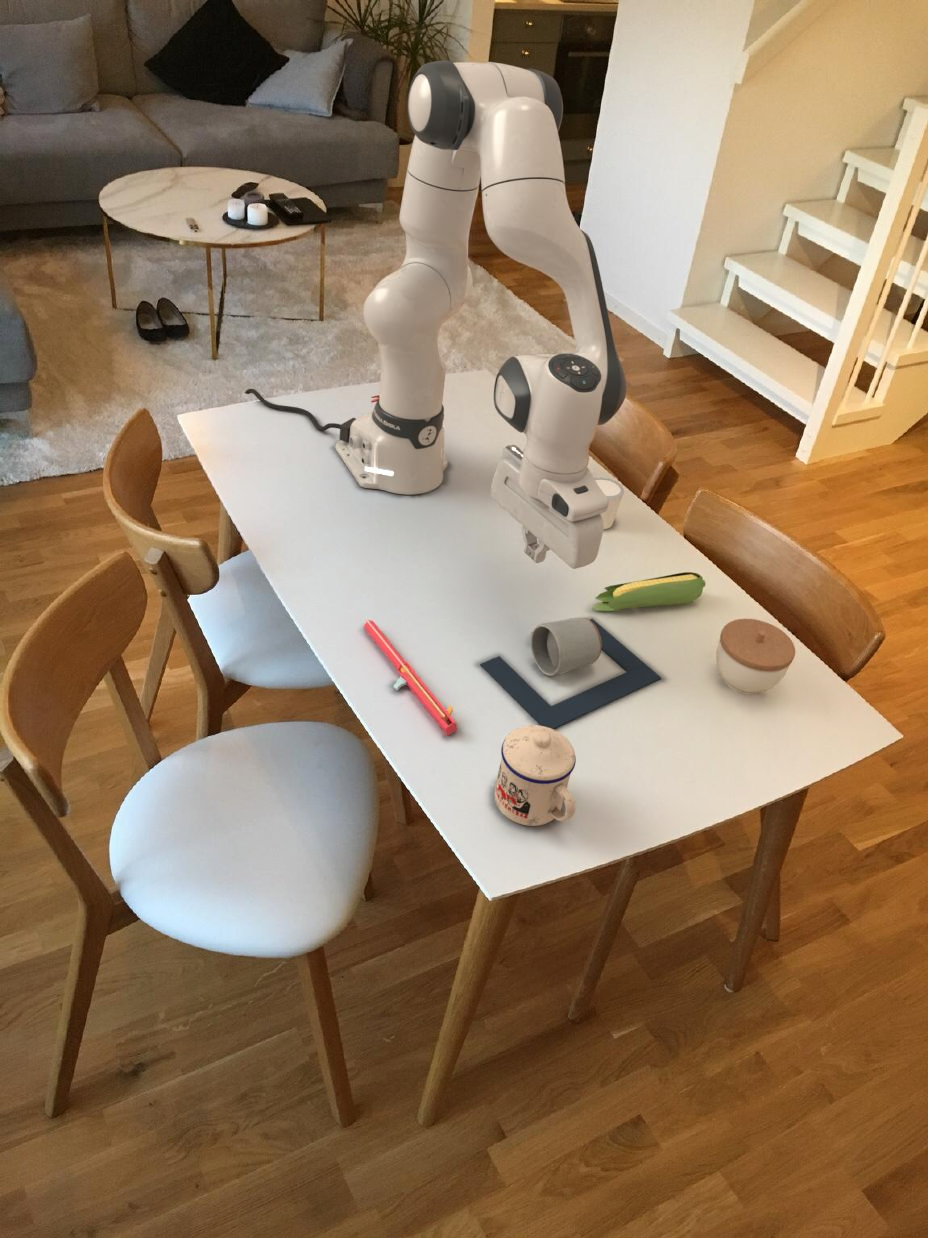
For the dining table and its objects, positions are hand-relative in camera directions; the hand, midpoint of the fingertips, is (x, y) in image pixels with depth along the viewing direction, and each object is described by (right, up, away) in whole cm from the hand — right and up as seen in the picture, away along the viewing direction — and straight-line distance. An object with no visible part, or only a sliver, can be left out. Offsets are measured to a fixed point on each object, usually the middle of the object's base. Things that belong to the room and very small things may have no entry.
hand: (533, 556), depth 144 cm
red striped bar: (-18, -18, -4) cm, 26 cm away
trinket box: (+32, -18, +5) cm, 37 cm away
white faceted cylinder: (+14, +8, +35) cm, 38 cm away
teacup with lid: (-1, -33, -19) cm, 38 cm away
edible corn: (+19, -7, +17) cm, 27 cm away
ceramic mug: (+4, -15, +4) cm, 16 cm away
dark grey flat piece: (+6, -17, +2) cm, 18 cm away
